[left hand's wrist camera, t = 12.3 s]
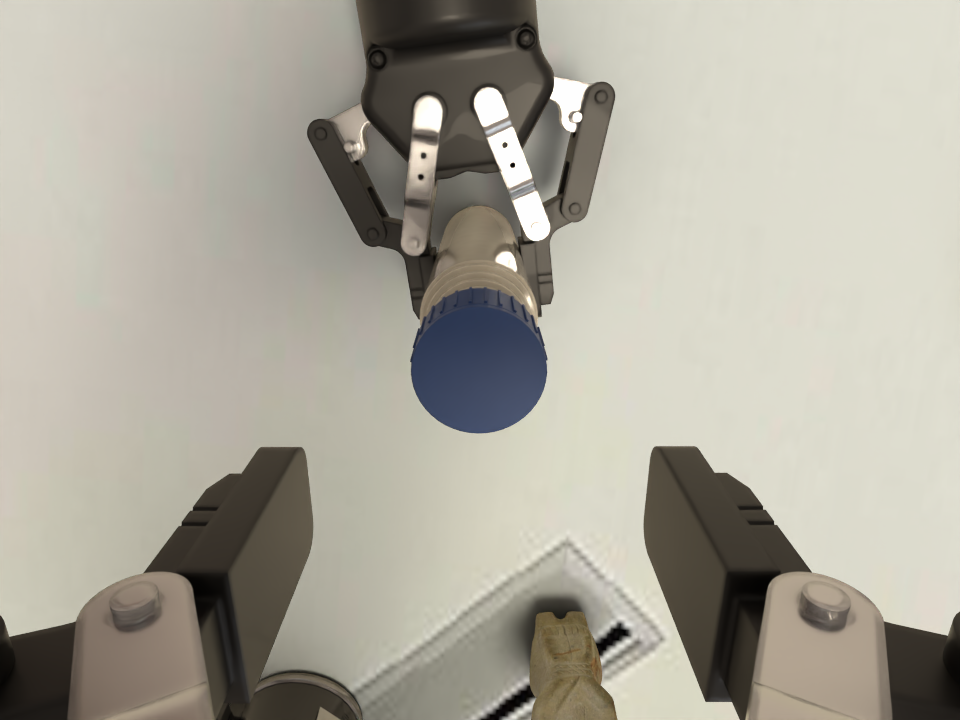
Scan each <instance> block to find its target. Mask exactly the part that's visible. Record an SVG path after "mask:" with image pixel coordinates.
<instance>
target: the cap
mask: <svg viewBox="0 0 960 720" xmlns="http://www.w3.org/2000/svg"><path fill="white" fill-rule="evenodd" d="M544 346H545V345H544V342H543V339H542V335H541V332H540V329H539V327H537V326H536V322H535V319H534V316H533V315H530V313H529V312H528V311H527V310H526V307H525V305H524V304H520V303H519V302H518V301H517V300H515V299H514V296H509V295H507V294H505V293H502V292H501V290H498V291H497V290H492V289H487V287H484V288H472V287H469V289H465V290H461V291H458V290H457V291H455V293H453V294H451V295H449V296H447V297H446V298H445V296H444V297H443V298H442V300H441V301H440V302H439V303H437V304H436V305H435V306H434V305H433V306H432V307H431V310H430V312H429V313H428V315H427V316H424V317H423V320H422V324H421V327H420V329H419V328H418V332H417V335H416V338H415V342H414V345H413V348H414V349H413V353H412V356H411V360H410V362H412V363H411V376H412V382H413V387H414V390H415V392H416V395H417V397H418V398H419V400H420V402H421V404H422V405H423V406H424V408H425V409H426V410H427V411H428V412H429V413H430V414H431V415H432V416H433V417H434V418H436V419H437V420H438V421H440V422H441V423H443V424H445V425H447V426H449V427H451V428H453V429H456V430H459V431H463V432H468V433H489V432H495V431H499V430H502V429H505V428H507V427H509V426H511V425H513V424H515V423H517V422H518V421H520V420H521V419H522V418H524V417H525V416H526V415H527V414H528V413H529V412H530V411H531V410H532V409H533V407H534V406H535V405H536V404H537V402H538V400H539V399H540V397H541V394H542V392H543V390H544V386H545V383H546V376H547V364H546V360H547V355H546V352H545V348H544Z"/></svg>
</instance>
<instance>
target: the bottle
mask: <svg viewBox="0 0 960 720" xmlns="http://www.w3.org/2000/svg"><path fill="white" fill-rule="evenodd" d="M469 287H472V288H484V287H487V289H492V290H497V291H498V290H501V292H502V293H505V294H507V295H509V296H514V299H515V300H517V301H518V302H519V303H520V304H524V305H525V307H526V310H527V311H528V312H529V313H530V315H533V316H534V319H535V322H536V326H537V322H538V310H537V304H536V301H535V297H534V294H533V291H532V288H531V285H530V282H529V279H528V276H527V273H526V270H525V267H524V264H523V260H522V257H521V254H520V251H519V248H518V245H517V242H516V239H515V236H514V233H513V230H512V227H511V225H510V223H509V222H508V220H507V219H506V218H505V217H504V216H503V215H502V214H501V213H500V212H498V211H497V210H495V209H492V208H490V207H486V206H471V207H468V208H465V209H463V210H461V211H459V212H458V213H456V214H455V215H454V216H453V217H452V218H451V219H450V221H449V222H448V224H447V226H446V228H445V231H444V234H443V237H442V240H441V244H440V247H439V250H438V253H437V256H436V259H435V262H434V265H433V268H432V272H431V275H430V278H429V281H428V284H427V287H426V290H425V293H424V297H423V300H422V303H421V308H420V325H421V324H422V320H423V317H424V316H427V315H428V313H429V312H430V310H431V307H432V306H433V305H434V306H435V305H436V304H437V303H439V302H440V301H441V300H442V298H443V297H444V296H445V298H446V297H447V296H449V295H451V294H453V293H455V291H457V290H458V291H461V290H465V289H469Z"/></svg>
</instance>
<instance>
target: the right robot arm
mask: <svg viewBox="0 0 960 720" xmlns="http://www.w3.org/2000/svg"><path fill="white" fill-rule="evenodd" d="M356 5H357V10H358V16H359V22H360V28H361V34H362V40H363V46H364V52H365V58H366V65H367V72H366V80H365V84H364V87H363V90H362V94H361V103H359V104H357V105H356V106H354V107H352V108H350V109H348V110H346V111H344V112H342V113H340V114H338V115H336V116H334V117H332V118H330V119H317V120H314V121H312V122H311V123H310V125H309V126H308V130H307V135H308V139H309V141H310V143H311V145H312V146H313V148H314V150H315V152H316V154H317V156H318V158H319V160H320V162H321V164H322V165H323V167H324V169H325V171H326V173H327V175H328V177H329V179H330V181H331V183H332V184H333V186H334V188H335V190H336V192H337V194H338V196H339V198H340V200H341V202H342V203H343V205H344V207H345V209H346V211H347V213H348V215H349V217H350V219H351V221H352V222H353V224H354V226H355V228H356V230H357V232H358V234H359V236H360V238H361V240H362V241H363V242H364V243H365V244H366V245H368V246H371V247H376V246H381V247H385V248H390V249H394V250H396V251H398V252H399V253H400V254H401V255H402V256H403V258H404V260H405V264H406V270H407V276H408V282H409V288H410V294H411V299H412V306H413V311H414V312H415V314H416V316H417V317H418V319H420V308H421V303H422V300H423V297H424V293H425V290H426V287H427V284H428V281H429V278H430V275H431V272H432V268H433V265H434V262H435V259H436V256H437V252H436V247H432V248H431V241H430V235H431V227H432V219H433V212H434V204H435V199H436V192H437V185H438V180H439V179H447V178H451V177H454V176H456V175H458V174H461V173H463V172H466V171H471V172H478V173H493V172H500V173H501V175H502V178H503V180H504V183H505V185H506V188H507V190H508V193H509V195H510V198H511V200H512V203H513V205H514V208H515V210H516V213H517V215H518V218H519V220H520V227H521V237H518V247H519V251H520V254H521V257H522V260H523V264H524V267H525V270H526V273H527V276H528V279H529V282H530V285H531V288H532V291H533V294H534V297H535V301H536V304H537V310H538V317H542V313H541V305H546V304H551V301H552V298H553V294H554V291H553V279H552V268H551V256H550V239H551V236H552V234H553V233H554V232H555V231H556V230H557V229H559V228H561V227H563V226H565V225H567V224H569V223H571V222H579V221H581V220H582V219H583V218H584V217H585V216H586V214H587V212H588V208H589V204H590V200H591V196H592V191H593V187H594V183H595V179H596V175H597V171H598V167H599V163H600V158H601V154H602V150H603V146H604V142H605V138H606V134H607V129H608V125H609V121H610V117H611V113H612V109H613V105H614V101H615V92H614V89H613V87H612V86H611V85H610V84H608V83H606V82H596V83H593V84H588V83H583V82H579V81H574V80H569V79H564V78H559V77H554V73H553V70H552V68H551V66H550V65H549V63H548V61H547V60H546V58H545V56H544V54H543V52H542V49H541V46H540V42H539V34H538V22H537V10H536V0H356ZM549 100H551V101H553V102H554V103H555V104H556V105H557V106H558V109H559V122H560V125H561V126H562V128H563V129H565V130H566V131H569V132H571V135H570V139H569V144H568V148H567V153H566V157H565V162H564V166H563V170H562V175H561V179H560V184H559V188H558V193H557V196H555V197H553V198H551V199H549V200H547V201H545V202H543V203H542V202H541V199H540V197H539V194H538V192H537V189H536V186H535V183H534V180H533V177H532V175H531V172H530V169H529V167H528V164H527V162H526V159H525V156H524V154H523V151H522V149H523V147H524V145H525V144H526V142H527V140H528V138H529V136H530V134H531V133H532V131H533V129H534V127H535V125H536V123H537V121H538V120H539V118H540V116H541V114H542V112H543V110H544V109H545V107H546V105H547V103H548V101H549ZM371 124H372V125H373V126H374V127H375V128H376V129H377V130H378V131H379V132H380V133H381V134H382V136H383V137H384V138H385V139H386V140H387V141H388V142H389V143H390V144H391V145H392V146H393V147H394V148H395V150H396V151H397V152H398V153H399V154H400V155H401V156H402V157H403V158H404V159H405V160H406V161H407V162H408V172H407V180H406V189H405V208H404V216H403V220H400V219H395V218H391V217H389V215H388V213H387V211H386V209H385V207H384V205H383V203H382V201H381V199H380V197H379V195H378V194H377V192H376V190H375V188H374V186H373V184H372V182H371V180H370V178H369V176H368V174H367V172H366V170H365V168H364V166H363V164H362V162H361V160H360V159H362V158H364V157H365V156H366V154H367V152H368V143H367V140H366V131H367V129H368V127H369V126H370V125H371Z"/></svg>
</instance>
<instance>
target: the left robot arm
mask: <svg viewBox="0 0 960 720" xmlns="http://www.w3.org/2000/svg"><path fill="white" fill-rule="evenodd" d="M312 538H313V515H312V506H311V497H310V487H309V478H308V469H307V460H306V455H305V451H304V449H303V448H302V447H261V448H259V449H258V450H257V452H256V453H255V455H254V456H253V458H252V459H251V461H250V462H249V464H248V465H247V467H246V468H245V469H244V471H243V472H242V474H228V475H227V476H225V477H224V478H223V479H221V480H220V481H218V482H217V483H215V484H214V485H212V486H211V487H209V488H208V489H206V491H205V492H204V493H203V495H202V496H201V497H200V499H199V500H198V501H197V503H196V504H195V505H194V507H193V511H190V512H189V513H188V515H187V516H186V517H185V519H184V520H183V521H182V525H181V526H179V527H178V528H177V529H176V531H175V532H174V533H173V535H172V536H171V537H170V539H169V540H168V541H167V543H166V544H165V545H164V547H163V548H162V549H161V551H160V552H159V553H158V555H157V556H156V557H155V559H154V560H153V561H152V563H151V564H150V565H149V567H148V568H147V569H146V571H145V572H144V573H143V574H139V575H135V576H132V577H129V578H126V579H123V580H121V581H119V582H116V583H114V584H112V585H110V586H109V587H107V588H105V589H104V590H102V591H101V592H99V593H98V594H96V595H95V596H94V597H93V598H91V599H90V600H89V601H88V602H87V603H86V604H85V606H84V607H83V608H82V610H81V611H80V613H79V615H78V617H77V620H76V622H73V623H69V624H65V625H61V626H57V627H52V628H48V629H43V630H39V631H34V632H30V633H25V634H21V635H16V636H12V637H9V635H8V632H7V629H6V626H5V622H4V620H3V618H2V617H1V616H0V720H362V715H361V711H360V708H359V706H358V704H357V702H356V701H355V699H354V698H353V697H352V696H351V695H350V694H349V693H348V692H347V691H346V690H345V689H344V688H342V687H341V686H340V685H338V684H336V683H335V682H333V681H331V680H329V679H326V678H324V677H320V676H317V675H313V674H307V673H284V674H279V675H275V676H272V677H269V678H266V679H264V680H262V681H261V682H259V679H260V677H261V674H262V672H263V669H264V667H265V664H266V662H267V659H268V657H269V654H270V652H271V649H272V647H273V644H274V642H275V639H276V636H277V634H278V631H279V629H280V626H281V624H282V621H283V619H284V616H285V614H286V611H287V609H288V606H289V604H290V601H291V599H292V596H293V594H294V591H295V589H296V586H297V584H298V581H299V579H300V576H301V574H302V571H303V569H304V566H305V564H306V561H307V559H308V556H309V553H310V550H311V545H312ZM644 538H645V545H646V549H647V553H648V556H649V558H650V561H651V563H652V566H653V568H654V571H655V574H656V576H657V579H658V581H659V584H660V586H661V589H662V591H663V594H664V597H665V599H666V602H667V604H668V607H669V609H670V612H671V614H672V617H673V620H674V622H675V625H676V627H677V630H678V632H679V635H680V637H681V640H682V643H683V645H684V648H685V650H686V653H687V655H688V658H689V661H690V663H691V666H692V668H693V671H694V673H695V676H696V678H697V681H698V684H699V686H700V689H701V691H702V694H703V696H704V699H705V701H706V702H732V703H733V705H734V707H735V710H736V712H737V714H738V716H739V719H740V720H960V612H959V613H957V614H956V616H955V617H954V619H953V622H952V625H951V628H950V631H949V634H948V636H946V635H941V634H937V633H932V632H928V631H923V630H919V629H914V628H909V627H905V626H900V625H896V624H892V623H888V622H884V620H883V617H882V615H881V613H880V611H879V610H878V608H877V607H876V606H875V605H874V603H873V602H872V601H871V600H870V599H869V598H867V597H866V596H865V595H864V594H862V593H861V592H859V591H858V590H856V589H855V588H853V587H851V586H850V585H848V584H846V583H844V582H841V581H839V580H837V579H834V578H831V577H828V576H825V575H821V574H817V573H812V572H811V570H810V569H809V568H808V566H807V565H806V564H805V562H804V561H803V560H802V558H801V557H800V556H799V554H798V553H797V552H796V550H795V549H794V547H793V546H792V545H791V543H790V542H789V541H788V539H787V538H786V537H785V535H784V534H783V533H782V531H781V530H780V529H779V527H778V526H777V525H774V521H773V519H772V518H771V516H770V515H769V514H768V512H767V511H766V510H763V506H762V504H761V503H760V502H759V500H758V499H757V498H756V496H755V495H754V494H753V492H752V491H751V489H750V488H748V487H747V486H745V485H744V484H742V483H741V482H740V481H738V480H737V479H735V478H734V477H732V476H731V475H729V474H728V473H714V471H713V470H712V468H711V467H710V465H709V464H708V462H707V461H706V459H705V458H704V456H703V455H702V453H701V452H700V451H699V449H698V448H697V447H695V446H656V447H654V448H653V450H652V453H651V457H650V466H649V475H648V484H647V494H646V503H645V513H644ZM258 682H259V683H258ZM229 704H231V705H230V707H229Z"/></svg>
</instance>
